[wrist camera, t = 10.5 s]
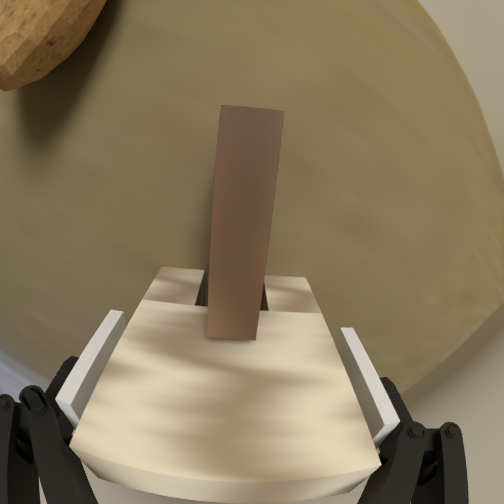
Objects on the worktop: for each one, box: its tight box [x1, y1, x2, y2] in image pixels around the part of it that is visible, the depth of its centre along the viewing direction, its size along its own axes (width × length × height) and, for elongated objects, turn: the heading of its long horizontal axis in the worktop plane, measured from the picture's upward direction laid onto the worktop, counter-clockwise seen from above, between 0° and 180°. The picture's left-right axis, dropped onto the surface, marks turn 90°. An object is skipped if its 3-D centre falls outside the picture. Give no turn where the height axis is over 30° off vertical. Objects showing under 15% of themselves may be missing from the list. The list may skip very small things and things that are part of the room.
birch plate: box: [69, 266, 381, 503], centre depth 13 cm, size 10×3×14 cm, turn 84°
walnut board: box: [207, 105, 284, 341], centre depth 15 cm, size 2×22×8 cm, turn 174°
